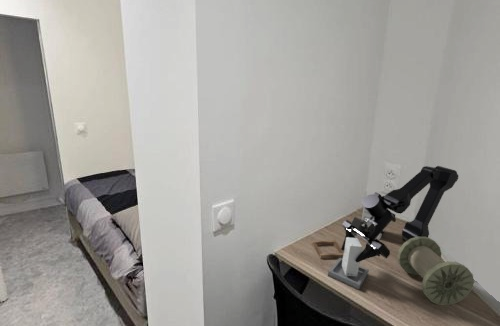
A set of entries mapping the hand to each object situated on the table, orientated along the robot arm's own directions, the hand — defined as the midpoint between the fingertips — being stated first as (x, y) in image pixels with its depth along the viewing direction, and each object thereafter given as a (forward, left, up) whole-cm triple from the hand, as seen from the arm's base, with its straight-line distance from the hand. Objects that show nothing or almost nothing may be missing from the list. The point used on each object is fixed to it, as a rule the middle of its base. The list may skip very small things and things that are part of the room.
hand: (348, 255), depth 98 cm
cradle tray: (-1, -1, -8) cm, 8 cm away
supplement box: (+2, -41, -9) cm, 42 cm away
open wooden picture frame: (+11, -11, -8) cm, 18 cm away
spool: (-24, -14, -9) cm, 29 cm away
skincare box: (-1, -1, -7) cm, 7 cm away
